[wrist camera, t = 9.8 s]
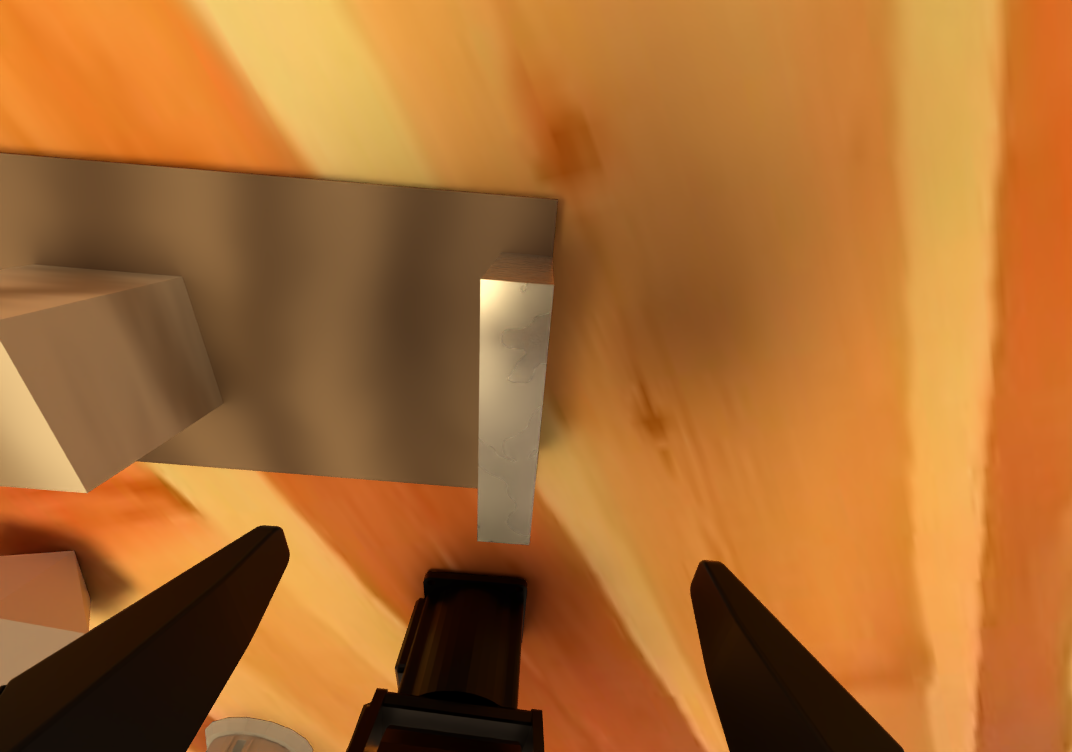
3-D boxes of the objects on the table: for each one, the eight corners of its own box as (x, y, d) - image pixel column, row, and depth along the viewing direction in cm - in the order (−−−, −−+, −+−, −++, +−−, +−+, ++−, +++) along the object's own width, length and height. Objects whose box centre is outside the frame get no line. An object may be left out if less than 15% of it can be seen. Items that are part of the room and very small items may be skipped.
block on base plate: (557, 199, 15) (562, 204, 10) (531, 482, 21) (525, 579, 16) (-72, 146, 15) (-416, 123, 9) (88, 446, 21) (-66, 533, 16)
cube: (182, 276, 16) (-11, 322, 10) (223, 403, 18) (87, 493, 13) (34, 264, 16) (-236, 304, 10) (97, 393, 18) (-92, 478, 13)
